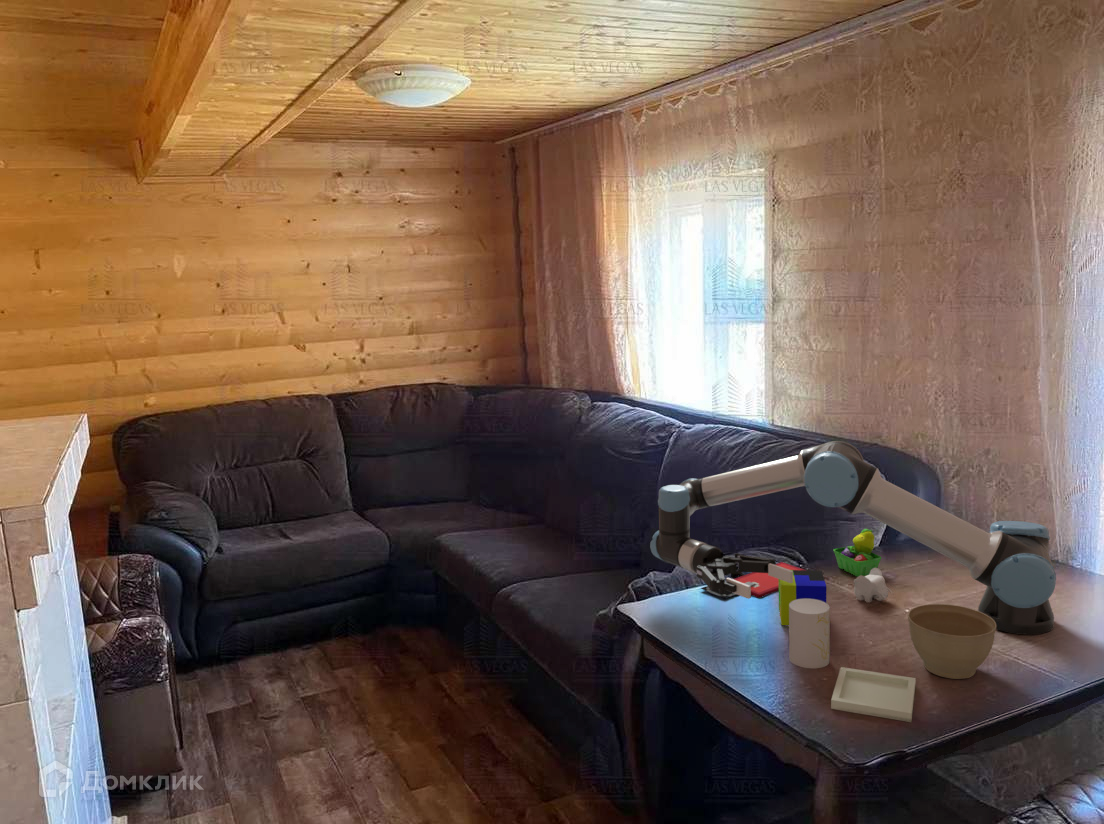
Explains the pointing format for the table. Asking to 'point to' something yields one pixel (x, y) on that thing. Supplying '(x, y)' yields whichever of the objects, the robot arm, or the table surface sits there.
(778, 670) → the table surface
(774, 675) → the table surface
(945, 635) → the planter bowl
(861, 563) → the fruit basket
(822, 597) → the puzzle toy
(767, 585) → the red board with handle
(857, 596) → the elephant figurine
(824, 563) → the table surface
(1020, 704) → the table surface
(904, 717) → the tray
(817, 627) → the white cylinder
